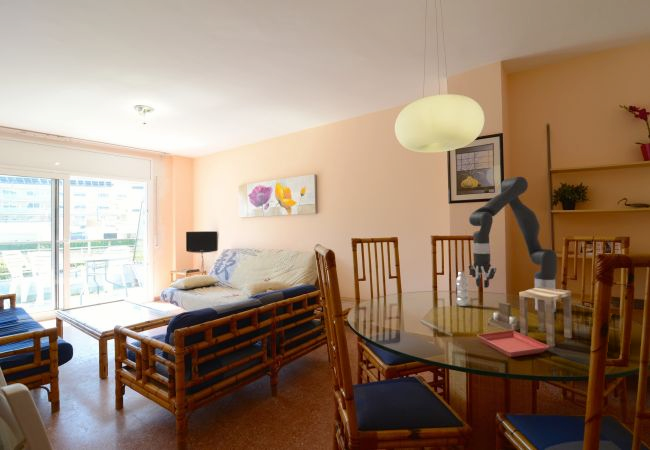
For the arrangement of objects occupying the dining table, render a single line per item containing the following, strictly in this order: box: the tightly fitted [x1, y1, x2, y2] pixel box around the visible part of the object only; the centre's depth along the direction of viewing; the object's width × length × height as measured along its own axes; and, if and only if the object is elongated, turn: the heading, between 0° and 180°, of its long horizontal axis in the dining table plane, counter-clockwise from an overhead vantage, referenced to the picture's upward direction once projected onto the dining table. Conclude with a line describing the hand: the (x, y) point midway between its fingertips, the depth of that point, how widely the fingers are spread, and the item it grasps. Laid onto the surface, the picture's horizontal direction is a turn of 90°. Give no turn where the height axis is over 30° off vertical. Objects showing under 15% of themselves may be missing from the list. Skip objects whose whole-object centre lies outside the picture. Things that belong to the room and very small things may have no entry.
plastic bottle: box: [455, 270, 470, 307], centre depth 187 cm, size 6×7×20 cm
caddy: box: [487, 301, 520, 332], centre depth 150 cm, size 8×12×11 cm, turn 31°
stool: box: [518, 287, 573, 348], centre depth 135 cm, size 17×12×20 cm
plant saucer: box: [476, 330, 550, 358], centre depth 127 cm, size 18×18×3 cm
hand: (482, 286), depth 159 cm, fingers open, 3 cm apart
